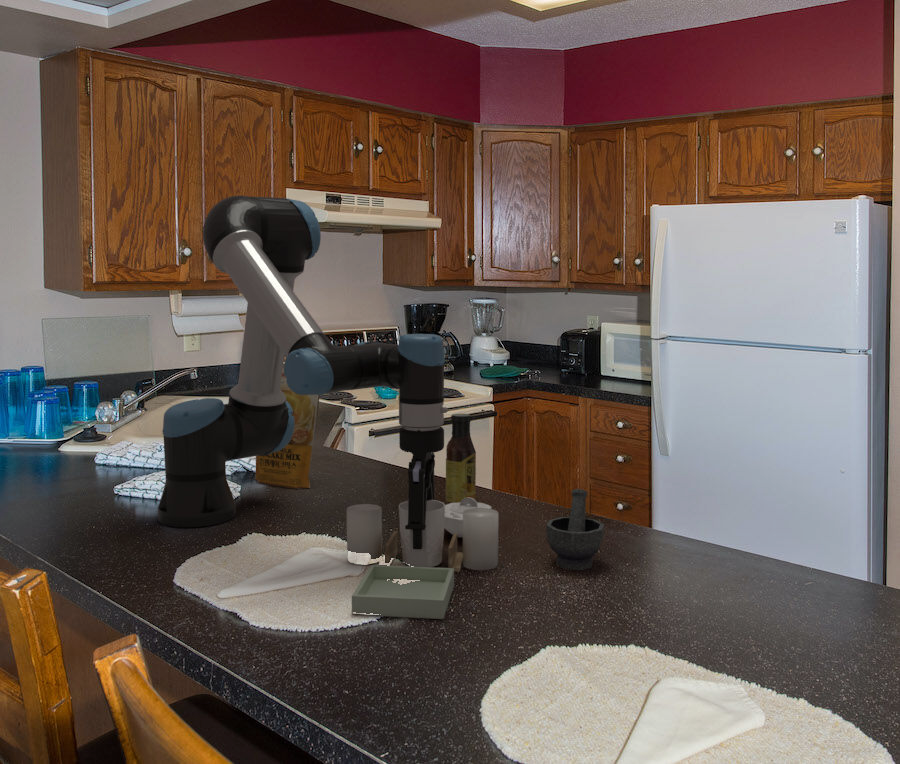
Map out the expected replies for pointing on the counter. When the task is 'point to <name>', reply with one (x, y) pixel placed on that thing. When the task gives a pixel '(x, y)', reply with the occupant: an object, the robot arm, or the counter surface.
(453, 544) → the rack
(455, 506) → the cell model
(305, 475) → the pancake mix bag
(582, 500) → the mortar and pestle
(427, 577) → the tray
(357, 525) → the grey tapered cylinder
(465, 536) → the white pillar candle
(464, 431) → the sauce bottle
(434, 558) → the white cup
